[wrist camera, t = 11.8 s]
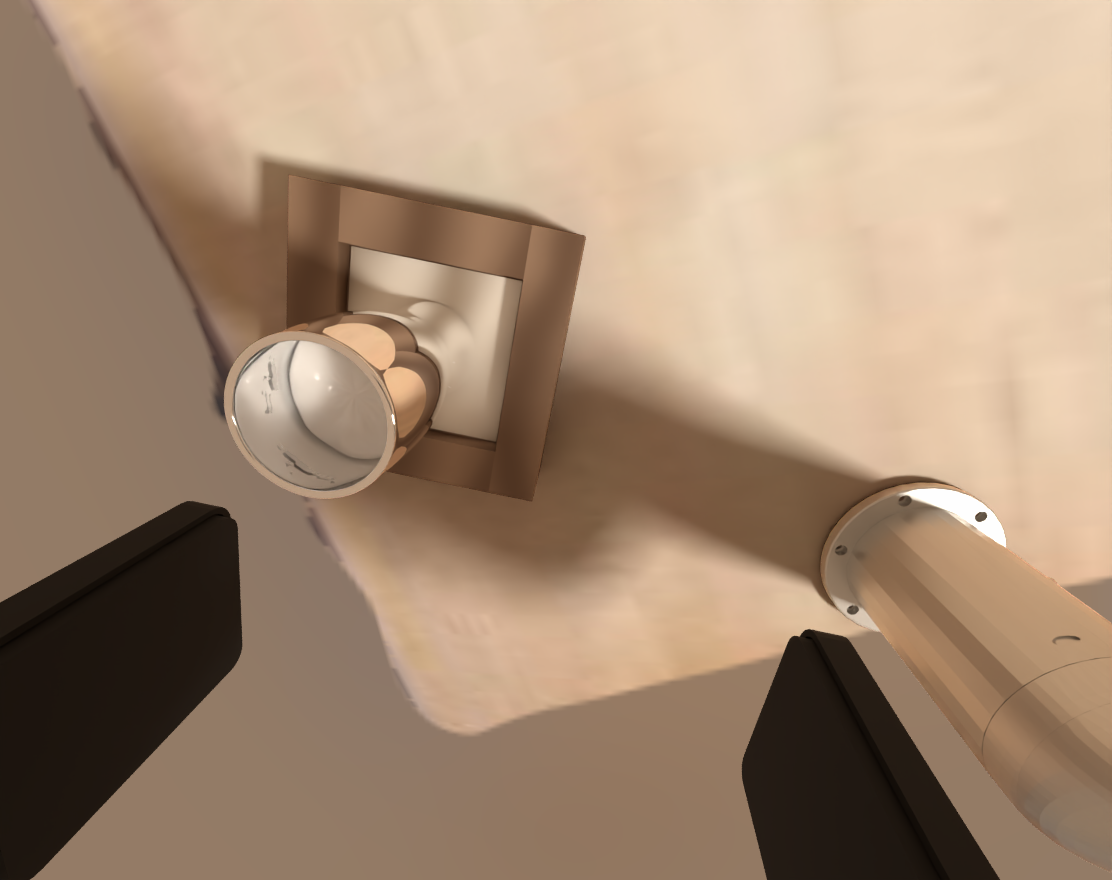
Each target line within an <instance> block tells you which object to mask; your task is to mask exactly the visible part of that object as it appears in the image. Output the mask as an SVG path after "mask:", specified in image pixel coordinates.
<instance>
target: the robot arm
mask: <svg viewBox="0 0 1112 880" xmlns="http://www.w3.org/2000/svg"><path fill="white" fill-rule="evenodd" d="M820 573H821V578H822V582H823V586H824V588H825V590H826V592H827V594H828V596H829V598H830V599H831V600H832V602H833V603H834V605H835V606H836V608H837V609H838V610H839V611H840V612H841V613H842V614H843V615H844V616H845V617H846V618H848V619H850V620H851V621H853V622H854V623H856V624H857V625H860V626H862V627H865V628H867V629H870V630H873V631H878V632H881V633H882V634H883V635H884V637H885V638H886V639H887V640H888V642H889V643H890V644H891V646H892V647H893V648H894V650H895V651H896V652H897V654H898V655H899V656H900V658H901V659H902V660H903V662H904V663H905V664H906V665H907V667H908V668H909V670H910V671H911V672H912V674H913V675H914V676H915V678H916V679H917V680H918V681H919V683H920V684H921V685H922V687H923V688H924V689H925V691H926V692H927V693H928V695H929V696H930V697H931V699H932V700H933V701H934V703H935V704H936V705H937V707H938V708H939V709H940V711H941V712H942V713H943V715H944V716H945V717H946V718H947V720H948V721H949V722H950V724H951V725H952V726H953V728H954V729H955V730H956V732H957V733H958V734H959V736H960V737H961V738H962V740H963V741H964V742H965V744H966V745H967V746H968V748H969V749H970V750H971V751H972V753H973V754H974V755H975V757H976V758H977V759H978V761H979V762H980V763H981V765H982V766H983V767H984V769H985V770H986V771H987V773H988V774H989V775H990V777H991V778H992V779H993V780H994V781H995V783H996V784H997V785H998V787H999V788H1000V789H1001V790H1002V792H1003V793H1004V794H1005V796H1006V797H1007V798H1008V799H1009V801H1010V802H1011V803H1012V804H1013V806H1014V807H1015V808H1016V809H1017V810H1018V811H1019V812H1020V813H1021V814H1022V815H1023V816H1024V817H1025V818H1026V819H1027V820H1028V821H1029V822H1030V823H1031V824H1032V825H1033V826H1034V827H1035V828H1037V829H1038V830H1039V831H1040V832H1041V833H1043V834H1044V835H1045V836H1047V837H1048V838H1049V839H1051V840H1052V841H1053V842H1055V843H1056V844H1057V845H1059V846H1061V847H1062V848H1064V849H1065V850H1067V851H1069V852H1071V853H1073V854H1074V855H1076V856H1078V857H1080V858H1081V859H1083V860H1085V861H1087V862H1089V863H1091V864H1093V865H1095V866H1097V867H1099V868H1102V869H1104V870H1106V871H1108V872H1110V873H1112V623H1111V622H1110V621H1108V620H1106V619H1105V618H1104V617H1103V616H1101V615H1100V614H1098V613H1097V612H1096V611H1094V610H1093V609H1091V608H1090V607H1089V606H1087V605H1086V604H1084V603H1083V602H1081V601H1080V600H1079V599H1077V598H1076V597H1075V596H1073V595H1072V594H1070V593H1069V592H1068V591H1066V590H1065V589H1063V588H1062V587H1061V586H1059V585H1058V584H1057V582H1056V581H1055V580H1054V579H1052V578H1049V577H1047V576H1045V575H1044V574H1042V573H1041V572H1040V571H1038V570H1037V569H1035V568H1034V567H1033V566H1031V565H1030V564H1028V563H1027V562H1026V561H1024V560H1023V559H1021V558H1020V557H1019V556H1017V555H1016V554H1014V553H1013V552H1012V551H1010V550H1009V549H1007V548H1006V536H1005V533H1004V531H1003V528H1002V525H1001V523H1000V521H999V520H998V518H997V517H996V515H995V514H994V512H993V511H992V510H991V509H990V508H989V507H987V506H986V505H985V504H984V503H983V502H982V501H980V500H979V499H977V498H976V497H974V496H972V495H971V494H969V493H968V492H965V491H963V490H960V489H958V488H956V487H953V486H949V485H944V484H939V483H923V482H918V483H911V484H903V485H899V486H895V487H892V488H888V489H885V490H882V491H880V492H878V493H876V494H874V495H872V496H870V497H867V498H866V499H864V500H863V501H861V502H860V503H859V504H857V505H856V506H854V507H853V508H852V509H850V510H849V511H848V512H847V513H846V514H845V515H844V516H843V517H842V518H841V519H840V520H839V522H838V523H837V524H836V526H835V527H834V528H833V529H832V531H831V532H830V534H829V536H828V538H827V541H826V543H825V545H824V548H823V552H822V556H821V566H820ZM241 650H242V626H241V600H240V575H239V550H238V527H237V523H236V521H235V520H234V519H232V518H231V517H230V514H229V512H228V511H227V510H226V509H225V508H223V507H218V506H213V505H208V504H203V503H199V502H194V501H187V502H184V503H181V504H180V505H178V506H176V507H174V508H172V509H170V510H169V511H167V512H165V513H163V514H161V515H159V516H158V517H156V518H154V519H152V520H150V521H148V522H147V523H145V524H143V525H141V526H139V527H138V528H136V529H134V530H132V531H130V532H128V533H127V534H125V535H123V536H121V537H119V538H117V539H116V540H114V541H112V542H110V543H108V544H107V545H105V546H103V547H101V548H99V549H97V550H95V551H94V552H92V553H90V554H88V555H87V556H84V557H83V558H81V559H79V560H77V561H75V562H73V563H72V564H70V565H68V566H66V567H64V568H63V569H61V570H59V571H57V572H55V573H53V574H52V575H50V576H48V577H46V578H44V579H42V580H41V581H39V582H37V583H35V584H33V585H31V586H30V587H28V588H26V589H24V590H22V591H21V592H19V593H17V594H15V595H13V596H11V597H10V598H8V599H6V600H4V601H2V602H1V603H0V880H30V879H31V878H33V877H34V876H35V875H36V874H37V873H38V872H39V871H41V870H42V869H43V868H44V867H45V865H46V864H47V863H48V862H49V861H50V860H51V859H52V858H53V857H54V856H55V855H56V854H57V853H58V852H59V851H60V850H61V849H62V848H63V847H64V845H65V844H66V843H67V842H68V841H69V840H70V839H71V838H72V837H73V836H74V835H75V834H76V833H77V832H78V831H79V830H80V829H81V827H83V826H84V824H85V823H86V822H87V821H88V820H89V819H90V818H91V817H92V816H93V815H94V814H95V813H96V812H97V811H98V810H99V808H101V807H102V806H103V804H104V803H105V802H106V801H107V800H108V799H109V798H110V797H111V796H112V795H113V794H114V793H115V792H116V791H117V790H118V789H119V788H120V787H121V786H122V784H123V783H124V782H125V781H126V780H127V779H128V778H129V777H130V776H131V775H132V774H133V773H134V772H135V771H136V770H137V769H138V768H139V767H140V766H141V764H142V763H143V762H144V761H145V760H146V759H147V758H148V757H149V756H150V755H151V754H152V753H153V752H154V751H155V750H156V749H157V748H158V747H159V745H160V744H161V743H162V742H163V741H164V740H165V739H166V738H167V737H168V736H169V735H170V734H171V733H172V732H173V731H174V730H175V729H176V728H177V727H178V725H179V724H180V723H181V722H182V721H183V720H184V719H185V718H186V717H187V716H188V715H189V714H190V713H191V712H192V711H193V710H194V709H195V708H196V706H197V705H198V704H199V703H200V702H201V701H202V700H203V699H204V698H205V697H206V696H207V695H208V694H209V693H210V692H211V691H212V689H214V688H215V686H216V685H217V684H218V683H219V682H220V681H221V680H222V679H223V678H224V677H225V676H226V675H227V674H228V673H229V672H230V671H231V670H232V668H233V667H234V666H235V664H236V663H237V661H238V659H239V657H240V654H241ZM742 779H743V784H744V789H745V793H746V797H747V801H748V805H749V809H750V813H751V817H752V821H753V825H754V829H755V833H756V837H757V841H758V845H759V849H760V853H761V857H762V861H763V865H764V869H765V873H766V877H767V880H1000V879H999V877H998V876H997V874H996V873H995V871H994V869H993V868H992V866H991V865H990V863H989V862H988V860H987V858H986V857H985V855H984V854H983V852H982V850H981V849H980V847H979V846H978V844H977V842H976V841H975V839H974V838H973V836H972V834H971V833H970V831H969V830H968V828H967V826H966V825H965V823H964V822H963V820H962V819H961V817H960V815H959V814H958V812H957V811H956V809H955V807H954V806H953V804H952V803H951V801H950V799H949V798H948V796H947V795H946V793H945V792H944V790H943V788H942V787H941V785H940V784H939V782H938V780H937V779H936V777H935V776H934V774H933V773H932V771H931V769H930V768H929V766H928V765H927V763H926V761H925V760H924V758H923V757H922V755H921V753H920V752H919V750H918V749H917V748H916V745H915V744H914V742H913V741H912V739H911V737H910V736H909V735H908V733H907V731H906V730H905V728H904V726H903V725H902V723H901V722H900V720H899V718H898V717H897V715H896V714H895V712H894V710H893V709H892V707H891V706H890V704H889V702H888V701H887V699H886V698H885V696H884V695H883V693H882V692H881V690H880V688H879V687H878V685H877V683H876V682H875V680H874V679H873V677H872V675H871V674H870V673H869V671H868V669H867V668H866V666H865V664H864V663H863V661H862V660H861V658H860V656H859V655H858V654H857V652H856V650H855V649H854V647H853V645H852V644H851V642H850V641H849V640H848V639H847V638H845V637H843V636H839V635H834V634H830V633H825V632H820V631H815V630H810V629H808V630H805V631H804V632H803V633H802V634H801V635H800V637H799V636H793V637H791V638H790V640H789V642H788V644H787V646H786V649H785V652H784V654H783V657H782V659H781V662H780V664H779V667H778V670H777V672H776V675H775V677H774V680H773V683H772V685H771V687H770V690H769V693H768V695H767V698H766V700H765V703H764V705H763V708H762V711H761V713H760V716H759V718H758V721H757V723H756V726H755V728H754V731H753V734H752V736H751V739H750V741H749V744H748V746H747V749H746V752H745V754H744V757H743V762H742Z"/></svg>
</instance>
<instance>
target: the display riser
mask: <svg viewBox="0 0 1112 880" xmlns="http://www.w3.org/2000/svg"><path fill="white" fill-rule="evenodd" d="M585 240H586V237H585V236H584V235H579V234H574V233H569V232H564V231H560V230H555V229H550V228H545V227H540V226H535V225H531V224H526V223H521V222H516V221H511V220H506V219H501V218H497V217H492V216H487V215H482V214H477V213H472V212H468V211H463V210H458V209H453V208H448V207H443V206H438V205H434V204H429V203H424V202H419V201H414V200H409V199H405V198H400V197H395V196H390V195H385V194H380V193H375V192H371V191H366V190H361V189H356V188H351V187H346V186H341V185H337V184H332V183H327V182H322V181H317V180H312V179H308V178H303V177H298V176H293V175H289V180H288V263H287V329H288V328H290V327H293V326H295V325H298V324H300V323H303V322H305V321H308V320H311V319H315V318H318V317H321V316H324V315H328V314H333V313H339V312H345V311H353V310H368V311H382V312H388V313H394V312H396V311H397V310H398V309H400V308H401V307H403V306H405V305H407V304H410V303H414V302H419V301H429V302H435V303H439V304H441V305H444V306H446V307H448V308H450V309H451V310H453V311H454V312H455V313H457V314H458V315H459V316H460V317H461V318H462V319H463V320H464V322H465V323H466V324H467V326H468V328H469V329H470V331H471V334H472V336H473V339H474V343H475V351H476V355H475V363H474V367H473V370H472V372H471V374H470V376H469V378H468V379H467V381H466V382H465V383H464V384H463V385H462V386H461V387H460V388H458V389H457V390H456V391H454V392H452V393H450V394H448V395H445V398H444V401H443V403H442V406H441V409H440V411H439V413H438V415H437V417H436V419H435V421H434V422H433V424H432V426H431V427H430V429H429V430H428V431H427V433H426V434H425V435H424V436H423V438H422V439H421V440H420V441H419V442H418V444H417V445H416V446H415V447H414V448H413V449H412V450H411V451H410V452H408V453H407V454H406V455H405V456H404V457H403V458H402V459H401V460H400V461H398V462H397V463H396V464H395V465H393V466H392V467H391V468H390V469H388V470H387V472H392V473H397V474H402V475H406V476H411V477H416V478H421V479H426V480H431V481H436V482H440V483H445V484H450V485H455V486H460V487H465V488H470V489H474V490H479V491H484V492H489V493H494V494H499V495H503V496H508V497H513V498H518V499H523V500H528V501H532V500H533V496H534V492H535V488H536V484H537V480H538V476H539V471H540V466H541V461H542V456H543V451H544V446H545V441H546V436H547V431H548V426H549V421H550V416H551V411H552V406H553V401H554V396H555V391H556V385H557V380H558V375H559V370H560V365H561V360H562V355H563V350H564V345H565V340H566V335H567V330H568V325H569V320H570V315H571V310H572V305H573V300H574V295H575V290H576V285H577V280H578V275H579V270H580V265H581V260H582V255H583V250H584V245H585Z"/></svg>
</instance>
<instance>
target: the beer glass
mask: <svg viewBox="0 0 1112 880" xmlns="http://www.w3.org/2000/svg"><path fill="white" fill-rule="evenodd" d="M475 355H476V351H475V343H474V339H473V336H472V334H471V331H470V329H469V328H468V326H467V324H466V323H465V322H464V320H463V319H462V318H461V317H460V316H459V315H458V314H457V313H455V312H454V311H453V310H451V309H450V308H448V307H446V306H444V305H441V304H439V303H435V302H429V301H419V302H414V303H410V304H407V305H405V306H403V307H401V308H400V309H398V310H397V311H396V312H394V313H388V312H382V311H368V310H353V311H345V312H339V313H333V314H328V315H324V316H321V317H318V318H315V319H311V320H308V321H305V322H303V323H300V324H298V325H295V326H293V327H290V328H288V329H286V330H283V331H281V332H279V333H274V334H271V335H268V336H265V337H263V338H261V339H259V340H257V341H255V342H254V343H252V344H251V345H250V346H248V347H247V348H246V349H245V350H244V351H243V352H242V353H241V354H240V355H239V356H238V358H237V359H236V361H235V362H234V364H233V365H232V367H231V369H230V372H229V374H228V377H227V380H226V385H225V391H224V409H225V415H226V420H227V424H228V427H229V430H230V432H231V435H232V437H233V439H234V441H235V443H236V445H237V447H238V448H239V450H240V451H241V453H242V454H243V456H244V457H245V458H246V459H247V461H248V462H249V463H250V464H251V465H252V466H253V467H254V468H255V469H256V470H257V471H258V472H259V473H260V474H261V475H263V476H264V477H265V478H267V479H268V480H269V481H271V482H273V483H274V484H276V485H277V486H279V487H281V488H283V489H285V490H287V491H290V492H292V493H295V494H298V495H301V496H305V497H310V498H318V499H334V498H341V497H345V496H349V495H352V494H354V493H357V492H359V491H361V490H363V489H365V488H366V487H368V486H369V485H370V484H372V483H373V482H374V481H375V480H376V479H377V478H378V477H379V476H380V475H381V474H383V473H384V472H385V471H387V470H388V469H390V468H391V467H392V466H393V465H395V464H396V463H397V462H398V461H400V460H401V459H402V458H403V457H404V456H405V455H406V454H407V453H408V452H410V451H411V450H412V449H413V448H414V447H415V446H416V445H417V444H418V442H419V441H420V440H421V439H422V438H423V436H424V435H425V434H426V433H427V431H428V430H429V429H430V427H431V426H432V424H433V422H434V421H435V419H436V417H437V415H438V413H439V411H440V409H441V406H442V403H443V401H444V398H445V395H448V394H450V393H452V392H454V391H456V390H457V389H458V388H460V387H461V386H462V385H463V384H464V383H465V382H466V381H467V379H468V378H469V376H470V374H471V372H472V370H473V367H474V363H475Z"/></svg>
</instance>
